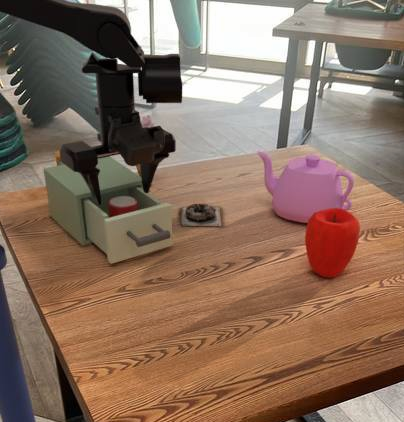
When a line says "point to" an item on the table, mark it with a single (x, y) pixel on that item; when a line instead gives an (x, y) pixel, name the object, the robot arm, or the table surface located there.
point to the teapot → (306, 187)
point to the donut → (201, 215)
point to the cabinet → (82, 192)
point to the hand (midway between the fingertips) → (122, 198)
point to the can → (121, 205)
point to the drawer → (128, 225)
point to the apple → (331, 241)
